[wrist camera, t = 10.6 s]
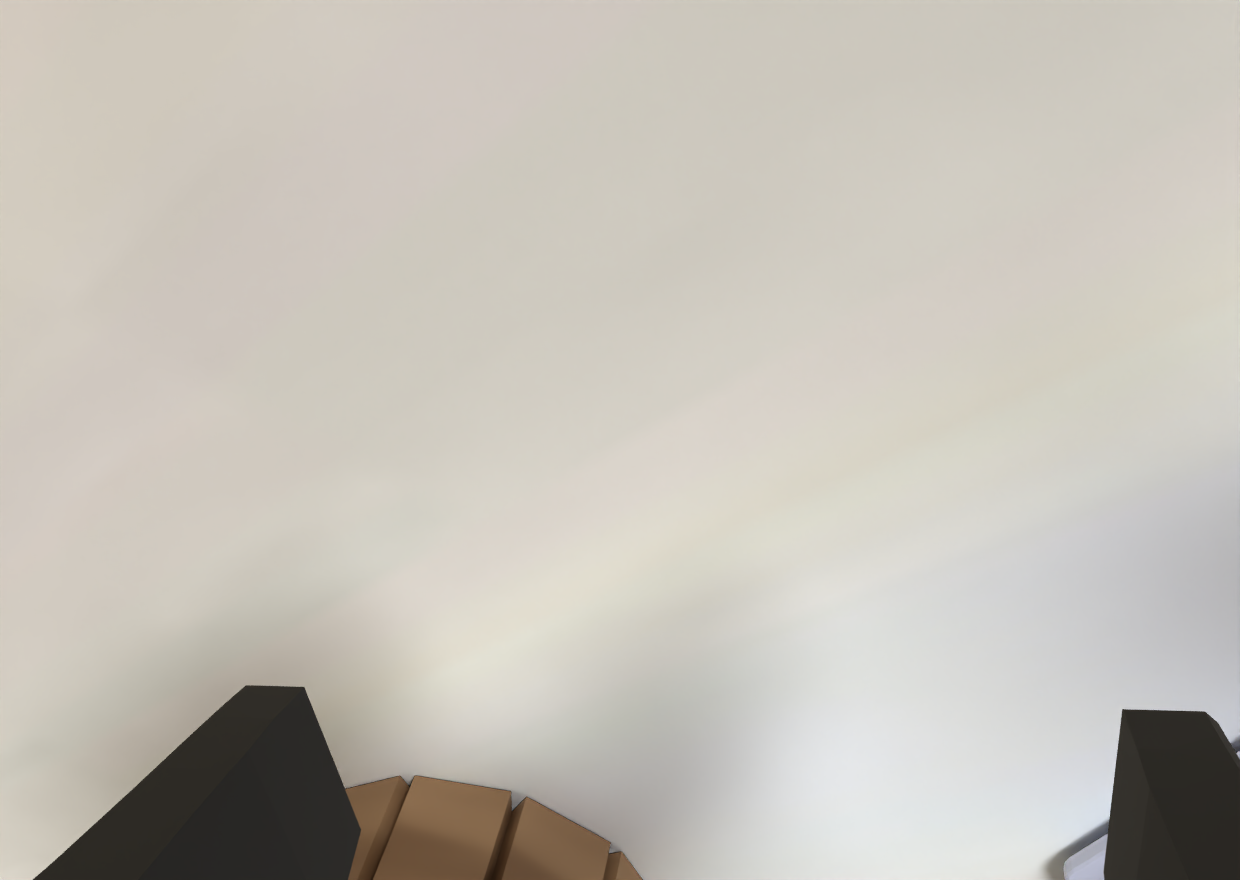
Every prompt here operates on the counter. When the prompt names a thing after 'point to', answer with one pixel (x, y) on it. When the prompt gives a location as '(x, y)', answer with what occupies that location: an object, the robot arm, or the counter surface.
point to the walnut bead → (471, 836)
